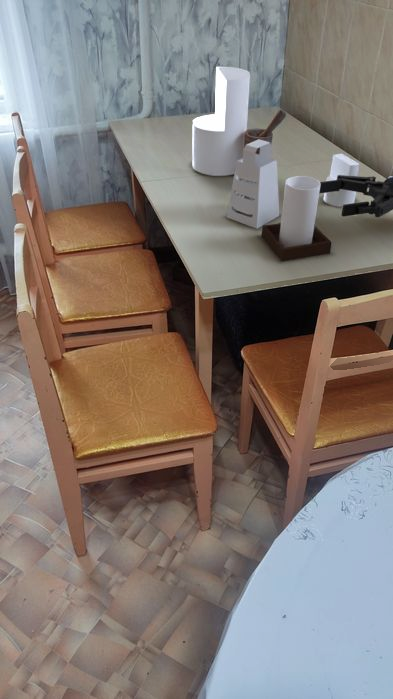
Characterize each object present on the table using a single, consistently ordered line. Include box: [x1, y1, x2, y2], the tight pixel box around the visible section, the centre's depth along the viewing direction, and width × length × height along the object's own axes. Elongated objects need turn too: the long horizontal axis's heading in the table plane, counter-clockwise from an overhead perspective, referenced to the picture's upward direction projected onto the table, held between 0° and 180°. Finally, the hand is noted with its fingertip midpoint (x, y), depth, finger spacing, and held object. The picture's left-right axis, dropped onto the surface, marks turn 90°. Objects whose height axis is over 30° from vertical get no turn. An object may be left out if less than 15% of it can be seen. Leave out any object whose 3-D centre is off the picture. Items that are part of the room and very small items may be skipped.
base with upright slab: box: [323, 153, 360, 208], centre depth 156 cm, size 9×9×12 cm
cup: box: [279, 175, 321, 248], centre depth 133 cm, size 8×8×16 cm
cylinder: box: [191, 65, 251, 177], centre depth 171 cm, size 17×17×28 cm
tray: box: [260, 222, 333, 262], centre depth 137 cm, size 13×13×3 cm
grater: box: [225, 139, 280, 229], centre depth 144 cm, size 10×10×20 cm
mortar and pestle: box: [244, 109, 287, 155], centre depth 168 cm, size 12×9×20 cm
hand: (329, 199), depth 133 cm, fingers open, 13 cm apart
